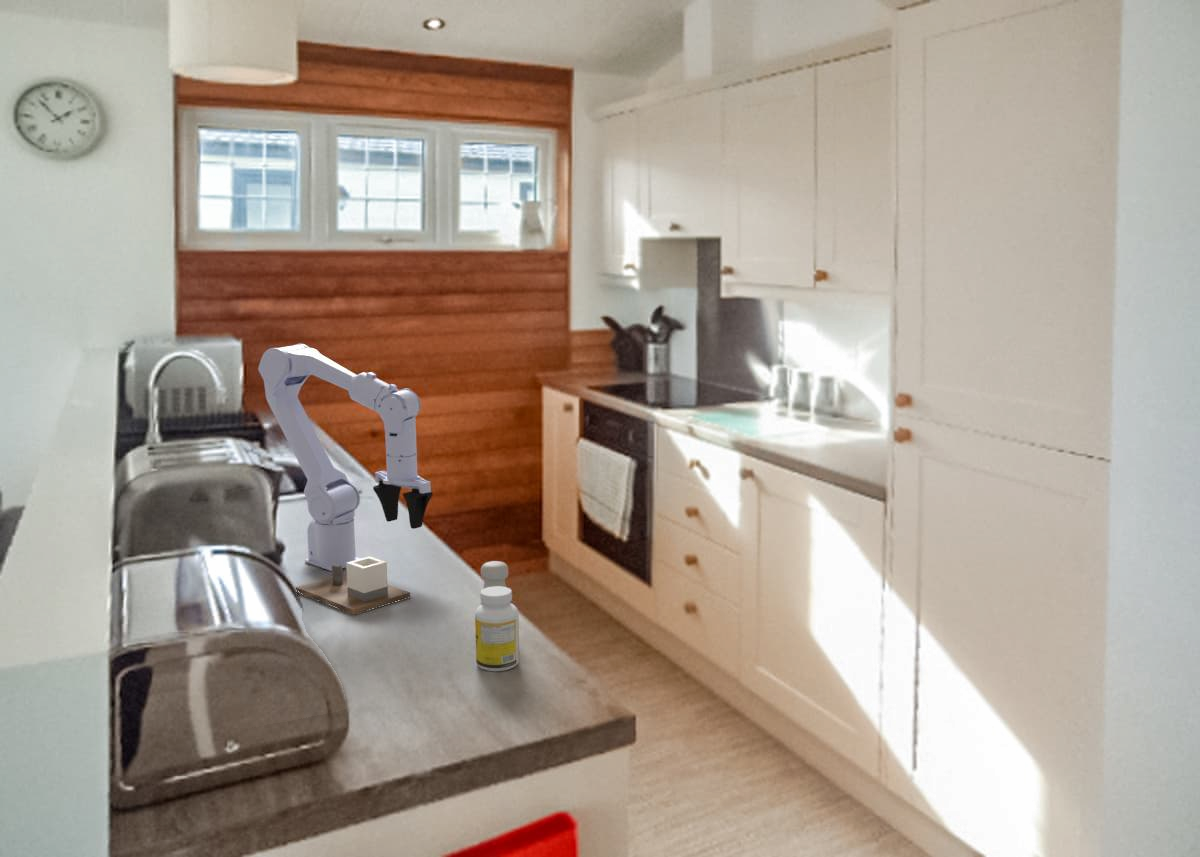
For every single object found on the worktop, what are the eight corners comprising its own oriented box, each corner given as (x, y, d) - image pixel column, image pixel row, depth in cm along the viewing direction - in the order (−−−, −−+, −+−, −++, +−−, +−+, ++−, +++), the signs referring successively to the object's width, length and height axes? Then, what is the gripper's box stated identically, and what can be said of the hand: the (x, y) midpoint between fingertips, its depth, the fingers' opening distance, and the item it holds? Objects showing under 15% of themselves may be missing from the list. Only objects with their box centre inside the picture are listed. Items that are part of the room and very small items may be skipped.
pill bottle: (495, 653, 166) (493, 581, 164) (528, 662, 163) (526, 589, 161) (467, 666, 161) (465, 592, 159) (500, 676, 157) (498, 601, 155)
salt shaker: (508, 649, 168) (506, 569, 165) (472, 647, 169) (471, 567, 166) (518, 636, 173) (517, 558, 171) (484, 633, 174) (482, 556, 172)
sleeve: (347, 595, 190) (346, 562, 189) (371, 588, 194) (369, 556, 193) (364, 601, 187) (363, 568, 186) (388, 594, 190) (386, 561, 189)
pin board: (295, 592, 195) (294, 568, 194) (351, 576, 204) (350, 553, 203) (354, 615, 183) (352, 589, 182) (410, 597, 192) (409, 573, 191)
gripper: (361, 452, 205) (363, 521, 207) (408, 462, 195) (410, 535, 197) (391, 446, 210) (393, 514, 212) (438, 456, 200) (440, 527, 203)
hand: (403, 523), depth 205 cm, fingers open, 7 cm apart
